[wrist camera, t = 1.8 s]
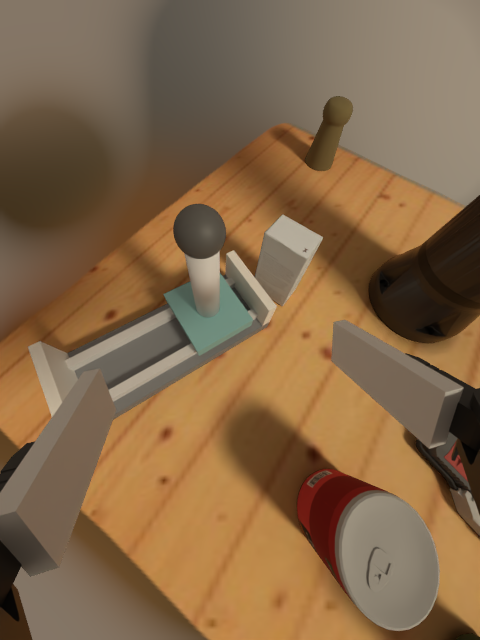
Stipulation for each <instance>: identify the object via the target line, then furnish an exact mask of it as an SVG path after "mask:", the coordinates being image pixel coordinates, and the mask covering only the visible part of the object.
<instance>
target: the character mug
mask: <svg viewBox="0 0 480 640" xmlns="http://www.w3.org/2000/svg"><path fill="white" fill-rule="evenodd" d="M456 640H480V637H479V636H477V635H475V634H473V633H471V634H464V635H460V636H459V637H458V638H457V639H456Z"/></svg>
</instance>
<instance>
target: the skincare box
mask: <svg viewBox="0 0 480 640" xmlns="http://www.w3.org/2000/svg"><path fill="white" fill-rule="evenodd" d="M322 239H323V237H322V236H320V235H318V234H316V233H315V232H313V231H311V230H309V229H308V228H306V227H304V226H302V225H301V224H299V223H297V222H295V221H293V220H292V219H290V218H288V217H286V216H285V215H283V214H282V215H281V216H280V217H279V218H278V219H277V220H276V222H275V223H274V224H273V225H272V226H271V227H270V228H269V229H268V230H267V231H266V232H265V233H264V237H263V242H262V247H261V252H260V256H259V260H258V265H257V269H256V273H255V279H256V280H257V281H258V282H259V284H260V285H261V286H262V288H263V289H264V290H265V292H266V293H267V294H268V296H269V297H270V298H271V299H272V300H273V301H275V302H276V303H278V304H279V305H281V306H283V305H284V304H285V303H286V301H287V300H288V299H289V297H290V296H291V295H292V293H293V292H294V290H295V289H296V287H297V285H298V284H299V282H300V280H301V278H302V276H303V274H304V273H305V271H306V269H307V267H308V265H309V263H310V262H311V260H312V258H313V256H314V254H315V252H316V251H317V249H318V247H319V245H320V243H321V241H322Z"/></svg>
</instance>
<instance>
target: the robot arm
mask: <svg viewBox="0 0 480 640" xmlns="http://www.w3.org/2000/svg"><path fill="white" fill-rule="evenodd" d="M369 296H370V300H371V303H372V306H373V308H374V310H375V311H376V313H377V315H378V316H379V317H380V319H381V320H382V321H383V322H384V323H385V324H386V325H387V326H388V327H389V328H391V329H392V330H393V331H394V332H396V333H398V334H399V335H401V336H403V337H405V338H407V339H410V340H413V341H416V342H421V343H435V342H439V341H442V340H445V339H448V338H450V337H453V336H455V335H457V334H458V333H460V332H461V331H463V330H464V329H465V328H466V327H467V326H468V325H469V324H470V323H472V322H473V321H474V320H475V319H476V318H477V317H478V316H479V315H480V195H479V196H478V197H477V198H476V199H475V200H473V201H472V202H471V203H470V204H469V205H467V206H466V207H465V208H464V209H463V210H462V211H460V212H459V213H458V214H457V215H456V216H455V217H453V218H452V219H451V220H450V221H449V222H448V223H446V224H445V225H444V226H443V227H442V228H441V229H439V230H438V231H437V232H436V233H435V234H434V235H432V236H431V237H430V238H429V239H428V240H427V241H426V242H424V243H423V244H422V245H420V246H418V247H416V248H414V249H412V250H409V251H407V252H405V253H403V254H401V255H398V256H396V257H394V258H392V259H390V260H388V261H387V262H385V263H384V264H383V265H382V266H381V267H380V268H379V269H378V270H377V271H376V272H375V273H374V274H373V276H372V278H371V280H370V283H369ZM332 362H333V363H334V364H335V365H336V366H337V367H339V368H340V369H341V370H342V371H343V372H344V373H345V374H346V375H347V376H349V377H350V378H351V379H352V380H353V381H354V382H355V383H356V384H357V385H359V386H360V387H361V388H362V389H363V390H364V391H365V392H366V393H368V394H369V395H370V396H371V397H372V398H373V399H374V400H375V401H376V402H378V403H379V404H380V405H381V406H382V407H383V408H384V409H385V410H386V411H388V412H389V413H390V414H391V415H392V416H393V417H394V418H395V419H396V420H398V421H399V422H400V423H401V424H402V425H403V426H404V427H405V428H406V429H408V430H409V431H410V432H411V433H412V434H413V435H414V436H415V437H416V438H418V439H419V440H420V441H421V442H422V443H423V444H424V445H425V446H426V447H428V448H429V449H430V448H434V447H437V446H440V445H443V444H445V443H446V440H447V437H448V434H449V432H450V433H452V434H453V435H454V436H455V437H457V441H456V444H455V447H454V450H453V453H452V455H451V460H452V461H455V460H456V458H457V456H458V455H459V456H460V459H461V463H462V465H463V468H464V471H465V474H466V477H467V480H468V483H469V486H470V488H471V491H472V494H473V497H474V500H475V503H476V506H477V509H478V512H479V515H480V388H478V389H475V388H473V387H471V386H470V385H468V384H466V383H464V382H462V381H460V380H459V379H457V378H455V377H453V376H451V375H450V374H448V373H446V372H444V371H442V370H439V368H437V367H435V366H433V365H430V363H428V362H426V361H424V360H422V359H421V358H419V357H416V356H413V355H410V354H407V353H405V354H404V353H403V352H401V351H399V350H397V349H396V348H394V347H392V346H390V345H389V344H387V343H385V342H383V341H382V340H380V339H378V338H376V337H375V336H373V335H371V334H369V333H367V332H366V331H364V330H362V329H360V328H359V327H357V326H355V325H353V324H352V323H350V322H348V321H346V320H341V321H336V322H334V325H333V343H332ZM115 413H116V408H115V405H114V403H113V400H112V398H111V395H110V393H109V390H108V388H107V385H106V383H105V380H104V378H103V375H102V372H101V370H100V368H99V369H94V370H89V371H84V372H83V373H82V375H81V376H80V377H79V379H78V380H77V382H76V383H75V385H74V386H73V388H72V389H71V390H70V392H69V393H68V395H67V396H66V398H65V399H64V401H63V402H62V404H61V405H60V406H59V408H58V409H57V411H56V412H55V414H54V415H53V417H52V418H51V420H50V421H49V422H48V424H47V425H46V427H45V428H44V430H43V431H42V433H41V434H40V435H39V437H38V438H37V440H36V441H35V442H31V443H27V444H26V445H24V446H23V447H22V448H21V449H20V450H19V451H18V452H17V453H15V454H14V455H13V456H12V457H11V459H10V460H9V461H8V462H7V464H6V465H5V466H4V468H3V469H2V470H1V474H0V640H32V637H31V633H30V630H29V626H28V623H27V620H26V616H25V613H24V609H23V606H22V603H21V600H20V596H19V592H18V589H17V588H16V587H15V586H14V584H13V582H14V580H15V578H16V576H17V574H18V572H19V570H20V567H22V568H23V569H24V570H25V571H26V572H27V573H28V575H29V576H34V575H37V574H40V573H43V572H46V571H49V570H53V569H56V568H58V567H59V566H60V564H61V561H62V558H63V555H64V553H65V550H66V547H67V544H68V542H69V539H70V536H71V533H72V530H73V528H74V525H75V522H76V520H77V517H78V514H79V511H80V509H81V506H82V503H83V500H84V498H85V495H86V492H87V489H88V487H89V484H90V481H91V478H92V476H93V473H94V470H95V467H96V465H97V462H98V459H99V456H100V454H101V451H102V448H103V446H104V443H105V440H106V437H107V435H108V432H109V429H110V426H111V424H112V421H113V418H114V415H115Z"/></svg>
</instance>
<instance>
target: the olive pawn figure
mask: <svg viewBox="0 0 480 640" xmlns="http://www.w3.org/2000/svg"><path fill="white" fill-rule="evenodd" d="M352 111H353V106H352V103H351V102H350V101H349V100H348V99H347V98H344V97H340V96H336V97H333V98H331V99H329V100H328V102H327V103H326V105H325V107H324V110H323V122H322V123H321V126H320V128H319V130H318V132H317V134H316V136H315V139H314V141H313V143H312V145H311V147H310V149H309V152H308V154H307V156H306V158H305V162H306V164H307V165H308V166H309V167H310V168H312V169H314V170H317V171H326V170H329V169H330V168H331V166H332V163H333V160H334V156H335V153H336V150H337V147H338V143H339V140H340V136H341V133H342V130H343V127H344V125H345V124H346V123H347V122H348V121H349V119H350V117H351V115H352Z"/></svg>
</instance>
